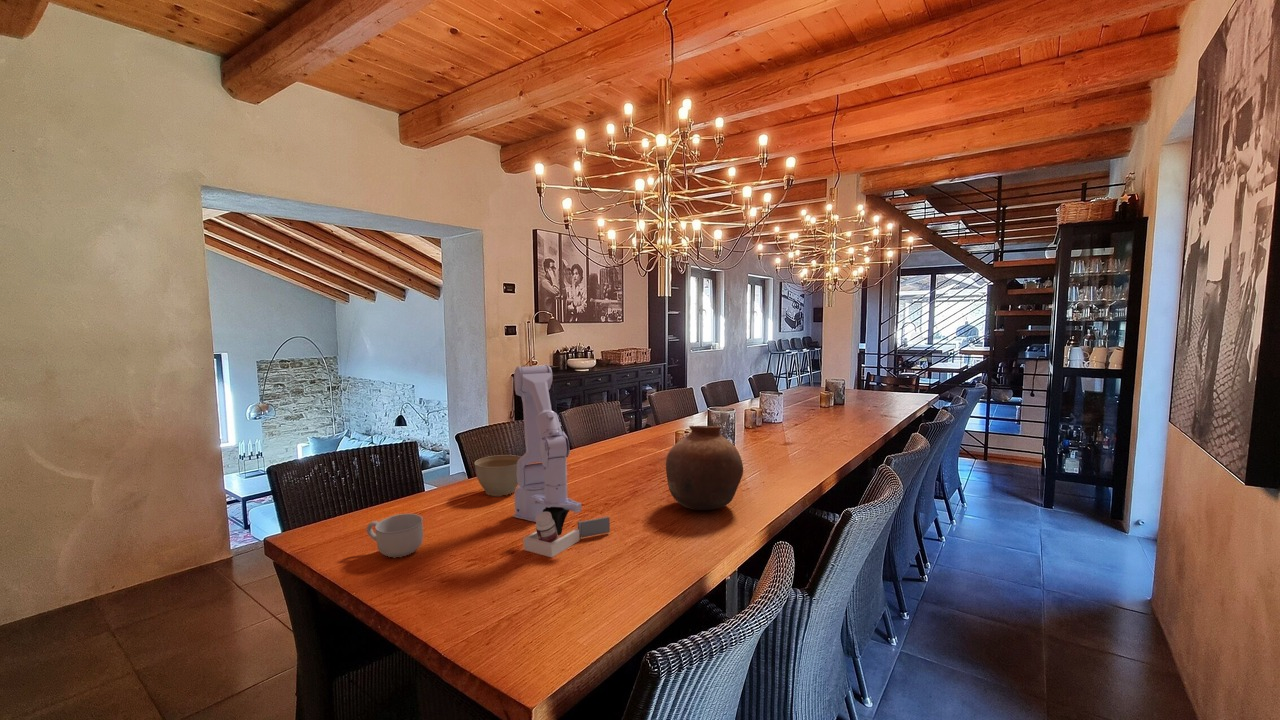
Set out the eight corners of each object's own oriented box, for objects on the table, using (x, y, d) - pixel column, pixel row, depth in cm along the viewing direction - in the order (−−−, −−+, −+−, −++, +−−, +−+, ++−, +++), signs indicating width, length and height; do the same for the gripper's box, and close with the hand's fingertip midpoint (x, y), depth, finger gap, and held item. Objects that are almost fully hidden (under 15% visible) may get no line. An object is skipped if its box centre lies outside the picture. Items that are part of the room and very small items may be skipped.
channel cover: (578, 539, 136) (578, 522, 136) (577, 537, 137) (577, 521, 137) (609, 532, 140) (609, 516, 140) (608, 531, 141) (608, 515, 140)
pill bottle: (540, 541, 134) (533, 512, 132) (559, 537, 135) (552, 508, 133) (540, 552, 130) (533, 523, 128) (559, 548, 130) (552, 519, 128)
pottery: (689, 526, 144) (688, 436, 143) (653, 500, 165) (652, 421, 164) (758, 513, 153) (758, 428, 152) (716, 490, 175) (715, 415, 173)
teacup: (433, 546, 134) (432, 515, 133) (401, 565, 124) (399, 532, 123) (390, 540, 138) (388, 510, 138) (355, 557, 128) (354, 525, 128)
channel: (523, 549, 131) (523, 538, 131) (552, 534, 140) (551, 523, 140) (551, 557, 126) (551, 545, 126) (579, 540, 136) (579, 529, 136)
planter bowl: (519, 500, 168) (518, 466, 167) (468, 501, 168) (467, 467, 167) (530, 484, 184) (529, 454, 183) (484, 485, 184) (483, 454, 183)
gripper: (523, 483, 134) (524, 535, 135) (568, 491, 127) (570, 546, 128) (541, 475, 140) (543, 525, 141) (585, 483, 133) (587, 535, 134)
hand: (557, 534), depth 135 cm, fingers closed, pressing on pill bottle
